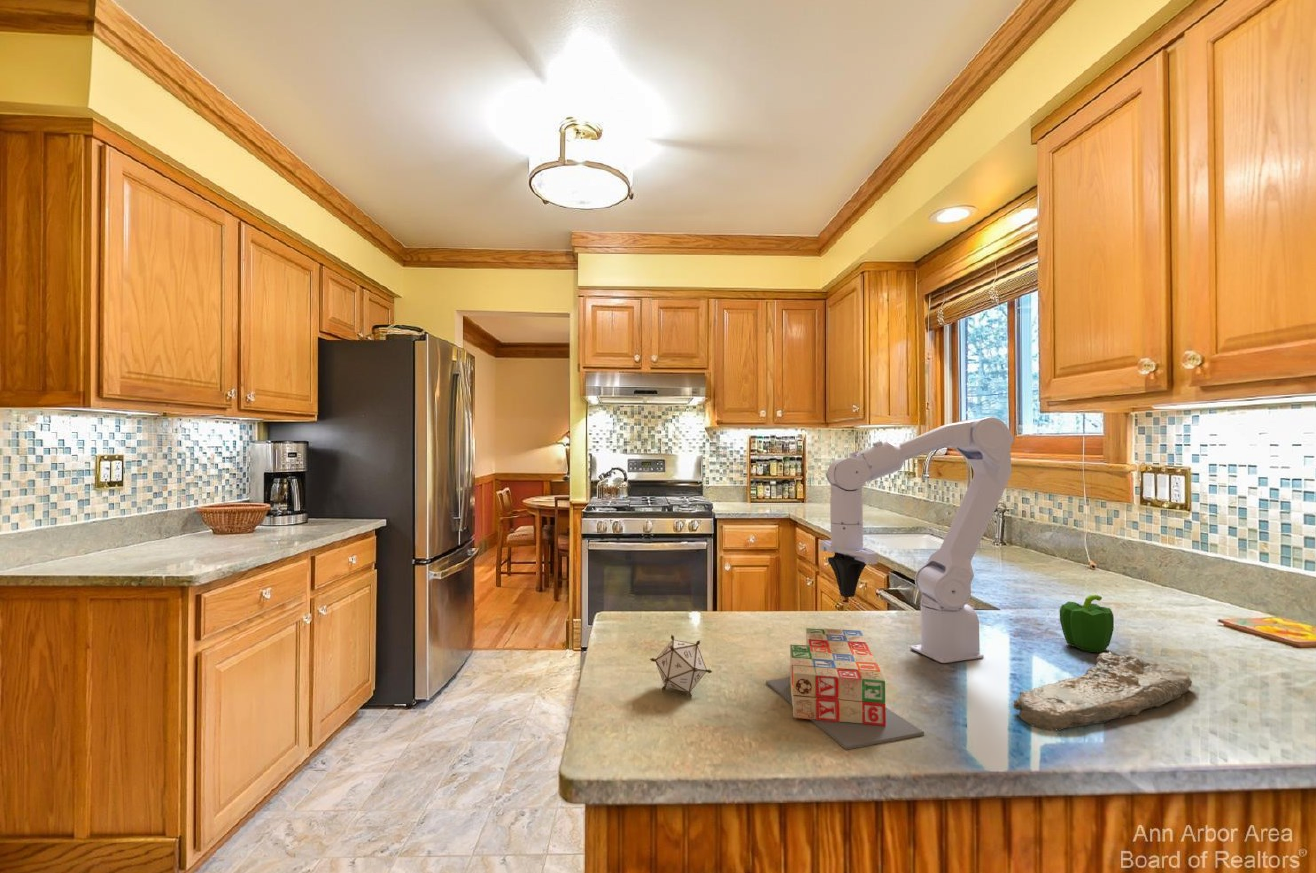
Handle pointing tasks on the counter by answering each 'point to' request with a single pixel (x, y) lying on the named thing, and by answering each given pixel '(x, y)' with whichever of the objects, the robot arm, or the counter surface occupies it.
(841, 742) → the mat
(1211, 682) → the counter surface
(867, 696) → the stack of blocks
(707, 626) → the counter surface
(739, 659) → the counter surface
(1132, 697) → the long grey stone
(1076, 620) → the bell pepper
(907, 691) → the counter surface
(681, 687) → the game die
